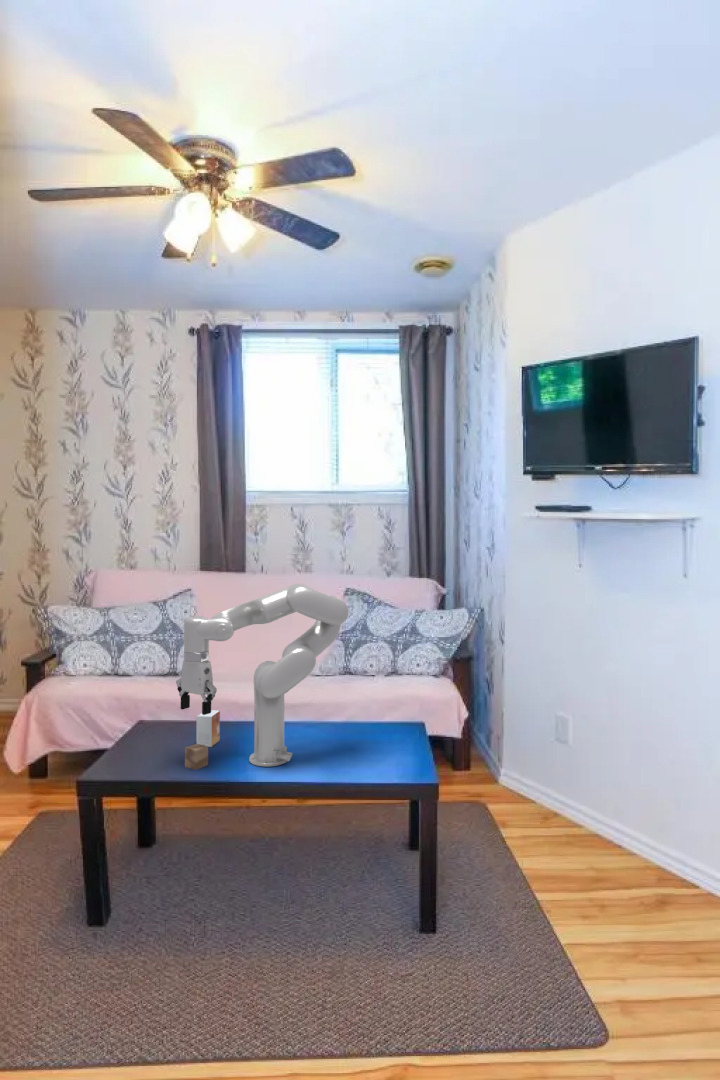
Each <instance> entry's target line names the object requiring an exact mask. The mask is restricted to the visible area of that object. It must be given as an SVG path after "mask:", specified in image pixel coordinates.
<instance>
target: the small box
mask: <svg viewBox="0 0 720 1080" xmlns="http://www.w3.org/2000/svg"><path fill="white" fill-rule="evenodd" d="M220 714H221V711H220V710H216V709H215V710H214V709H213V710H212V709H211V713H209V714H206V715H202V712H201V713H199V714H198V715H196V718H195V719H196V725H195V726H196V727H195V729H196V731H195V732H196V733H195V734H196V739H195V740H196V741H195V742H196V743H195V744H201V745H204V746H208V748H213V746H215V745H216V744H217V743H218V742H220V740H221V737H220V736H221V731H220V730H221V726H220V724H221V715H220Z"/></svg>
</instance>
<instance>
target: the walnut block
mask: <svg viewBox="0 0 720 1080" xmlns="http://www.w3.org/2000/svg"><path fill="white" fill-rule="evenodd" d="M207 765H208V766H209V747H208V746H204V745H201V744H196V743H194V744H193V745H189V746H186V747H184V768H187V767H188V769H190V768H191V770H193V769H194V771H197V769H198V770H200V769H202V767H203V768H204V767H207Z"/></svg>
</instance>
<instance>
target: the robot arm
mask: <svg viewBox="0 0 720 1080" xmlns="http://www.w3.org/2000/svg"><path fill="white" fill-rule="evenodd" d="M294 613H298V614H301V615H302V616H305V617H307V618H310V619H313V620H315V622H314V623H313V625H312V626H310V627H309V629H307V630H305V632H304V633H303V634H301V635H300V636H299V637H298V638H296V639H294V641H292V642H290V643H288V644H287V646H285V647H284V649H283V651H282V654H281V658H280V659H279V660H278V661H276V662H275V661H273V660H266V661H263V662H261V663H259V664H258V665H257V667H256V669H255V670H254V673H253V692H254V694H253V695H254V697H253V698H254V710H253V711H254V714H253V716H254V720H253V721H254V723H253V725H254V728H253V731H254V732H253V733H254V736H253V737H254V738H253V739H254V741H253V742H254V747H253V749H254V750H253V751H254V752H253V753H252V754H250V755H249V758H248V759H249V760H248V761H249V762H250V763H251V764H252V765H253V766H258V767H264V768H265V767H267V768H268V767H277V766H281V765H284V764H286V763H288V762H289V761H290V760H291V758H292V757H293V752H289V751H287V746H285V695H286V694H287V693H288V692H289V691H291V689H294V687H296V686H297V685H298V684H300V683H301V682H302V681H304V680H305V679H306V678H307V677H308V676H310V674H311V673H312V672H313V670H314V668H315V667H316V664H317V663H316V662H317V658H318V656H319V655H321V654H322V653H323V652H324V651H325V650H326V649H328V648H329V647H330V646H331V645H332V644H333V643H334V642H335V640H336V639H337V637H338V635H339V632H340V630H341V626H342V624H344V623H345V622H346V620H347V619H348V617H349V608H348V606H347V604H346V602H344V601H343V599H340V598H338V597H336V596H333V595H327V594H325V593H322V592H321V591H320V592H319V591H317V590H315V589H313V588H310V587H309V586H307V585H305V584H304V583H294V584H291V585H289V586H286V587H284V588H281V589H279V590H276V591H274V592H272V593H269V594H266V595H263V596H261V597H258V598H255V599H253V600H250V601H247V602H244V603H241V604H238V605H235V606H233V607H230V608H228V609H226V610H223V611H220V612H218V613H216V614H215V615H213V616H212V617H211V618H208V617H206V616H201V615H200V616H199V615H197V616H189V617H186V618H185V620H184V622H183V623H184V624H183V661H182V666H181V673H180V678H179V679H177V680H176V681H175V683H176V687H177V688H176V689H177V691H178V693H179V694H178V695H179V697H180V710H186V709H189V708H190V707H191V706H190V705H191V704H190V703H191V696H190V694H193V695H199V696H201V698H202V702H201V713H202V715H206V714H209V713H211V710H212V701H213V700H214V698H215V697H216V693H217V692H218V688H217V686H215V685H214V682H213V681H214V679H213V678H214V677H213V670H212V669H213V668H212V664H211V661H210V653H209V651H210V648H209V647H210V645H209V644H210V642H209V641H215V642H225V641H229V640H231V638H232V637H233V636H234V633H235V631H237V630H240V629H243V628H245V627H248V626H252V625H253V626H254V625H265V624H269V623H272V622H274V621H275V622H276V621H278V620H279V619H281V618H285V617H286V616H288V615H291V614H294Z"/></svg>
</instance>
